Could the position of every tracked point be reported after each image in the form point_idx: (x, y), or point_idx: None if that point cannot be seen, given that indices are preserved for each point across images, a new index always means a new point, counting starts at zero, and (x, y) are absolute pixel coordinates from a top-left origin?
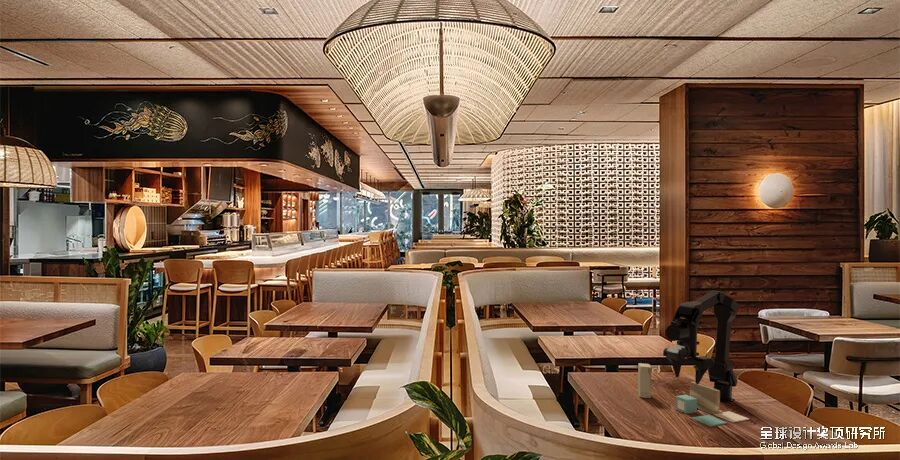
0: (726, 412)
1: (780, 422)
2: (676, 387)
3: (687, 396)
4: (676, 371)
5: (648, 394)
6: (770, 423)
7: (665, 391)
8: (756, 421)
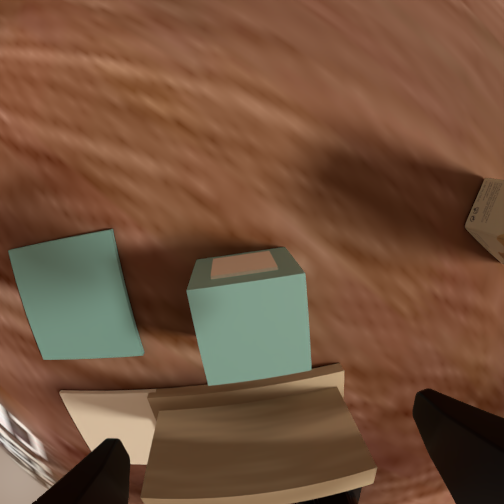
0: None
1: None
2: None
3: (270, 356)
4: (455, 431)
5: (480, 218)
6: None
7: (485, 360)
8: None
